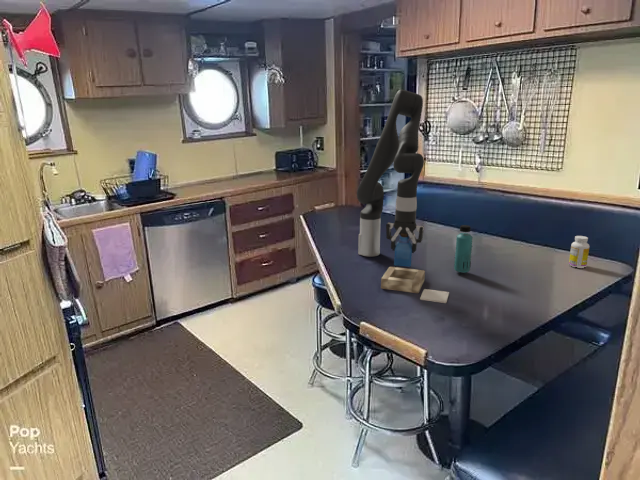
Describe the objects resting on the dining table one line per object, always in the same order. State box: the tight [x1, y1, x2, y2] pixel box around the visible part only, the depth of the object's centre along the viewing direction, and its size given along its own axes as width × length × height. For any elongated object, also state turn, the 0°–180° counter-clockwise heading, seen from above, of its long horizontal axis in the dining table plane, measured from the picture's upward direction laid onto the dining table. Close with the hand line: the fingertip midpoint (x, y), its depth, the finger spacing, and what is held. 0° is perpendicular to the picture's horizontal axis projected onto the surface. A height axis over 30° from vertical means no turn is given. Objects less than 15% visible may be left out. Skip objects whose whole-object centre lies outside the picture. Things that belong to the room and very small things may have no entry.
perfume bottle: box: [393, 234, 413, 267], centre depth 174 cm, size 6×6×12 cm
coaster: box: [419, 288, 450, 304], centre depth 166 cm, size 9×9×1 cm
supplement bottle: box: [568, 235, 590, 267], centre depth 194 cm, size 7×7×13 cm
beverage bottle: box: [453, 224, 473, 273], centre depth 186 cm, size 6×7×20 cm
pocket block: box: [380, 266, 426, 294], centre depth 177 cm, size 14×14×4 cm
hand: (403, 251), depth 174 cm, fingers closed on perfume bottle, 6 cm apart
